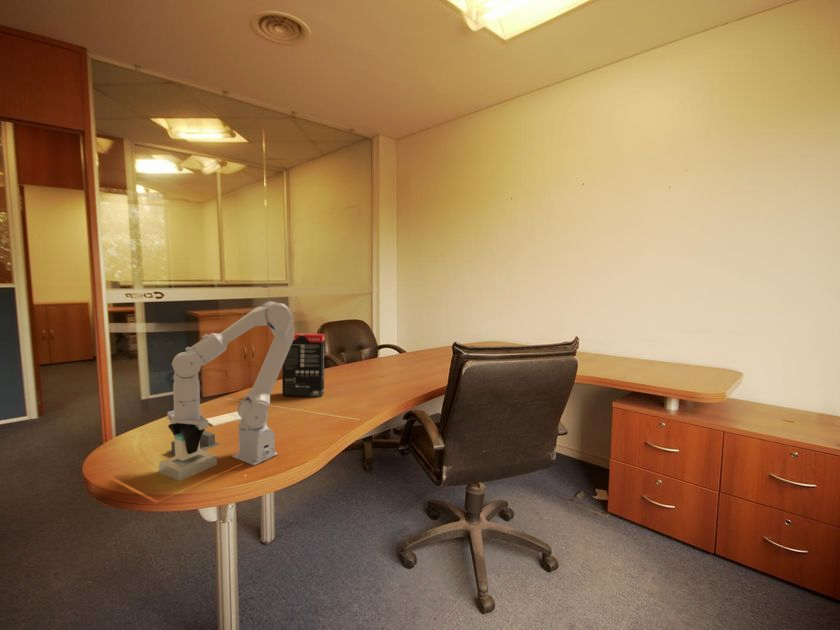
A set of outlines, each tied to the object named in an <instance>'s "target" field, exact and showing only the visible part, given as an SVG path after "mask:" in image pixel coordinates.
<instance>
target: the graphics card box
mask: <svg viewBox="0 0 840 630" xmlns="http://www.w3.org/2000/svg"><path fill="white" fill-rule="evenodd" d="M294 335H295V336H294V340H293V342H292V344H291V347H290V349H289V351H288V354H287V356H286V359H285V361H284V363H283V366H282V380H281V381H282V384H281V385H282V396H284V397H286V396H287V397H314V398H315V397H318V398H319V397H322V396H323V395H324V393H325V346H326V345H325V338H326V337H325V336H326V335H325V334H324V333H301V332H298V333H297V332H294Z"/></svg>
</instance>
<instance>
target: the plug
mask: <svg viewBox="0 0 840 630" xmlns="http://www.w3.org/2000/svg"><path fill="white" fill-rule="evenodd" d="M174 441H175V455H174V457H175V458H177V459H179V460H182V461H183V460H186V459H189V458H191V457H194V456H196V455H199V454H200V442H199V445H198V449H197V452H194V453H191V454H188V453H187V449H186V442H185V438H184V436H183V434H182V433H179V434H176V435H175V437H174Z"/></svg>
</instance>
